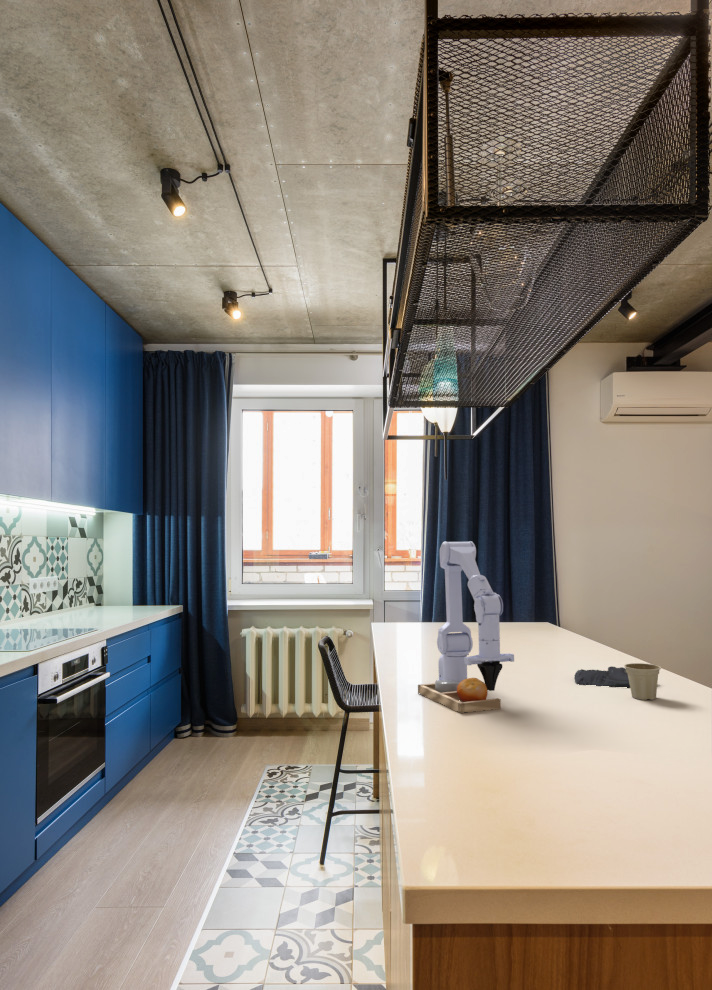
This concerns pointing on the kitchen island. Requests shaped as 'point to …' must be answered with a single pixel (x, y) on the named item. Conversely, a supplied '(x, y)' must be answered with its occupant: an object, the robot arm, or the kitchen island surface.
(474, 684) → the fruit
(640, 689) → the flower pot
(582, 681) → the grey elongated lump
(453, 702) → the wooden tray
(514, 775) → the kitchen island surface
